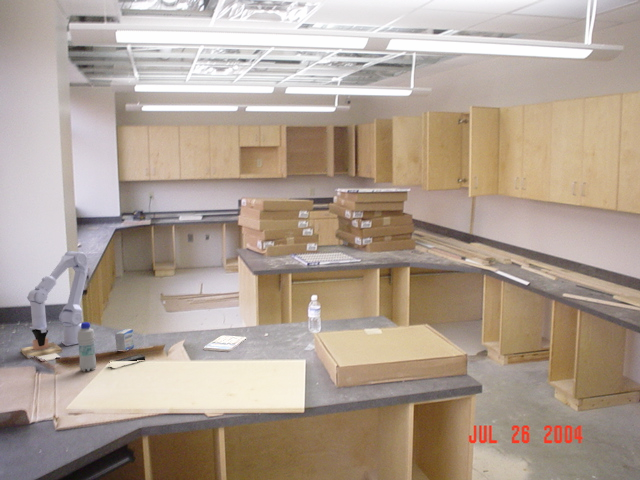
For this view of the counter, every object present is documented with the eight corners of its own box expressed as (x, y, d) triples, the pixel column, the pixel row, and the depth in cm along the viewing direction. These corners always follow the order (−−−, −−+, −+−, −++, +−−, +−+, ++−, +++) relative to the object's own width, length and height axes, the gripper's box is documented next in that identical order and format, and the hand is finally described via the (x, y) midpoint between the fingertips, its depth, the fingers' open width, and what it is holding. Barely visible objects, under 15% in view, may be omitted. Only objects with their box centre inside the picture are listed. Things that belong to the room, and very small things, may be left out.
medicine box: (125, 352, 253) (124, 333, 252) (116, 351, 254) (115, 333, 253) (134, 347, 261) (133, 328, 260) (125, 346, 262) (124, 328, 261)
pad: (55, 354, 252) (55, 352, 252) (60, 358, 246) (60, 357, 246) (36, 357, 247) (36, 356, 247) (41, 362, 241) (41, 361, 241)
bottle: (100, 367, 233) (97, 320, 230) (89, 373, 226) (85, 325, 224) (87, 366, 235) (84, 319, 233) (75, 371, 228) (72, 323, 226)
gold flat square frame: (53, 345, 266) (53, 341, 265) (62, 352, 255) (61, 347, 255) (20, 351, 257) (20, 347, 257) (28, 358, 246) (28, 354, 246)
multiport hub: (108, 367, 234) (108, 362, 234) (140, 358, 245) (140, 353, 244) (113, 369, 231) (113, 364, 231) (145, 361, 242) (145, 355, 241)
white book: (247, 340, 271) (246, 336, 270) (229, 352, 251) (229, 348, 251) (221, 338, 274) (221, 334, 274) (202, 350, 255) (202, 346, 255)
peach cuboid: (47, 350, 259) (46, 337, 258) (49, 351, 257) (48, 338, 256) (33, 352, 255) (32, 340, 254) (34, 353, 253) (33, 340, 253)
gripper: (25, 314, 257) (27, 343, 258) (33, 320, 246) (35, 350, 247) (41, 312, 261) (43, 340, 263) (50, 317, 250) (52, 347, 252)
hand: (40, 345), depth 256 cm, fingers closed on peach cuboid, 2 cm apart
